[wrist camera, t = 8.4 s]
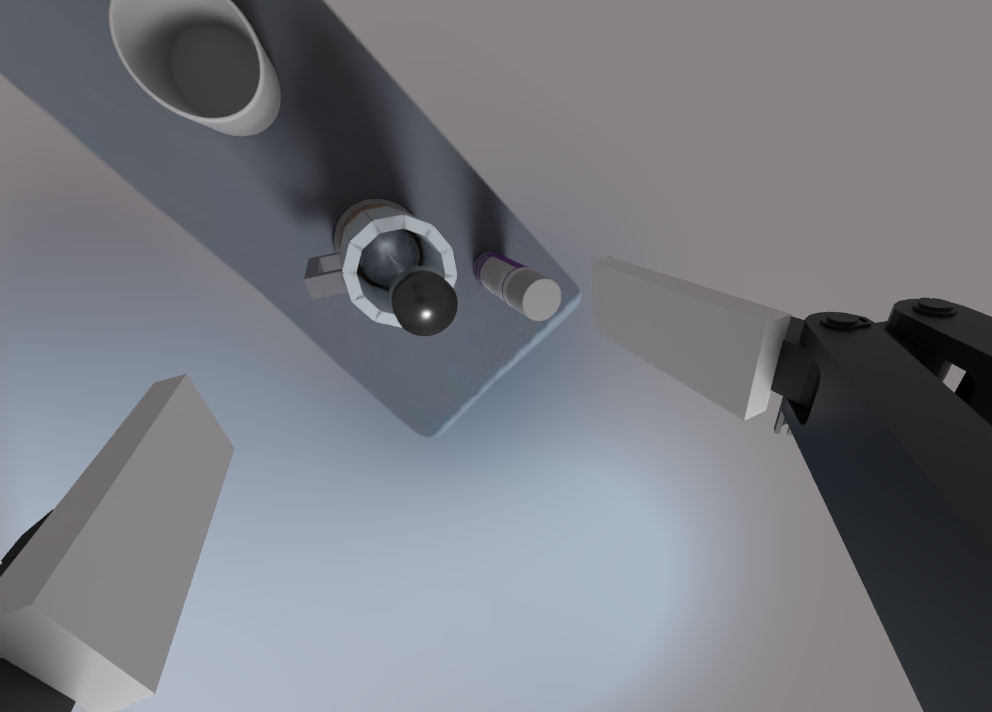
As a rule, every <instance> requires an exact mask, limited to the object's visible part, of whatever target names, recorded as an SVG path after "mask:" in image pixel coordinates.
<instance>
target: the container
mask: <svg viewBox="0 0 992 712" xmlns="http://www.w3.org/2000/svg"><path fill="white" fill-rule="evenodd" d="M473 273H474V277H475V279H476V280H477V282H478V283H480V284H481V285H482V286H484V287H485V288H486V289H488V290H489V291H490V292H492V293H493V294H495V295H496V296H497V297H499V298H500V299H501V300H503V301H504V302H506V303H507V304H508V305H510V306H511V307H513V308H515V309H516V310H518V311H519V312H521V313H522V314H524V315H525V316H527V317H528V318H530V319H532V320H535V321H542V320H546V319H548V318H549V317H551V316H552V315H553V314H554V313H555V312H556V311H557V309H558V307H559V305H560V302H561V291H560V288H559V286H558V285H557V283H556V282H554V281H553V280H551V279H549V278H547V277H545V276H543V275H542V274H540V273H538V272H536V271H534V270H532V269H530V268H528V267H526V266H524V265H522V264H520V263H517V262H515V261H513V260H511V259H509V258H507V257H504V256H502V255H500V254H498V253H495V252H486V253H484V254H482V255H480V256H479V257H478V258H477V260H476V262H475V264H474V268H473Z"/></svg>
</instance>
